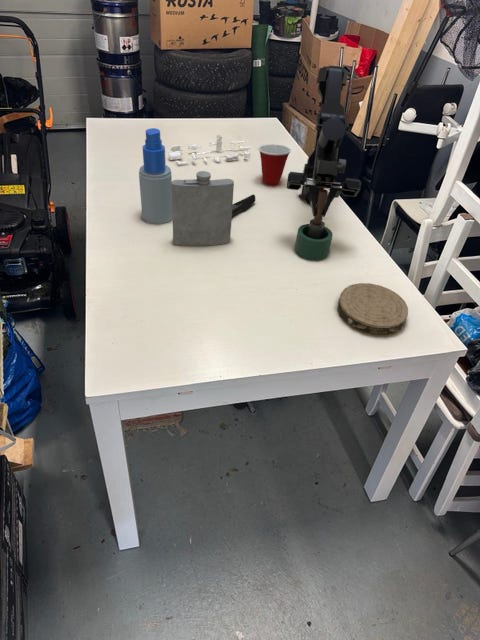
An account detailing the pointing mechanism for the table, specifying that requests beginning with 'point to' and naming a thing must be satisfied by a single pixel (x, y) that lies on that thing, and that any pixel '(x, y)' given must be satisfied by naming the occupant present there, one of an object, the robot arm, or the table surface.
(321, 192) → the brown cylinder with base
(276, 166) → the plastic cup
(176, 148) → the miniature set
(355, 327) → the wood slice coaster
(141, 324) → the table surface
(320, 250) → the round container
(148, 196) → the spray bottle
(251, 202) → the electric trimmer
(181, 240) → the hip flask
